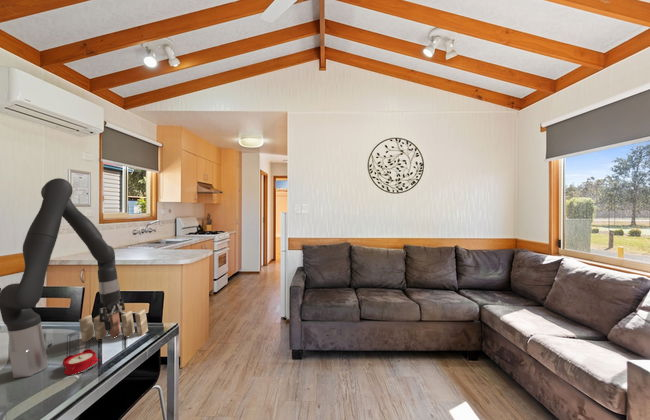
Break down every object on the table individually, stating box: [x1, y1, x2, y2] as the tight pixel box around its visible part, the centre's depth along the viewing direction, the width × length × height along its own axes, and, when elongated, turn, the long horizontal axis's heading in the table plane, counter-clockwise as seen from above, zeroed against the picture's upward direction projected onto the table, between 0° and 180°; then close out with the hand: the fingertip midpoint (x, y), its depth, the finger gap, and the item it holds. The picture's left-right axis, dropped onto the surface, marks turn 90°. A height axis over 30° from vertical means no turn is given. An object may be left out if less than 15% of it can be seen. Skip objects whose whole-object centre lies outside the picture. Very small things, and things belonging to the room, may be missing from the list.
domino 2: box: [92, 314, 109, 341], centre depth 148 cm, size 2×5×10 cm, turn 2°
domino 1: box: [78, 314, 96, 343], centre depth 147 cm, size 2×5×10 cm, turn 2°
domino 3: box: [121, 310, 136, 338], centre depth 148 cm, size 2×5×10 cm, turn 2°
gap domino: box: [109, 312, 123, 339], centre depth 148 cm, size 2×5×10 cm, turn 3°
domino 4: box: [134, 309, 149, 337], centre depth 148 cm, size 2×5×10 cm, turn 2°
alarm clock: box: [62, 348, 99, 376], centre depth 124 cm, size 10×6×15 cm
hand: (114, 325), depth 147 cm, fingers open, 8 cm apart
